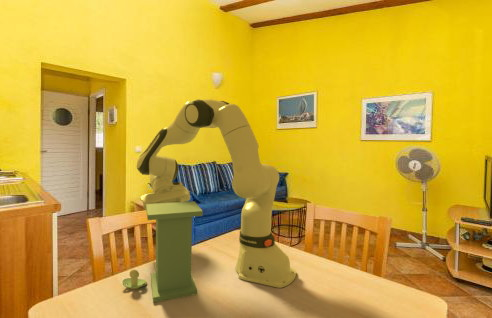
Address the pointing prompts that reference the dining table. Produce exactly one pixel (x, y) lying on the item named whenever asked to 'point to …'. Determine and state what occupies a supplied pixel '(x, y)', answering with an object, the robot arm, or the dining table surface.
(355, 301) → the dining table surface
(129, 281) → the pacifier
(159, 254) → the stand
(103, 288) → the dining table surface
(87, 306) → the dining table surface
